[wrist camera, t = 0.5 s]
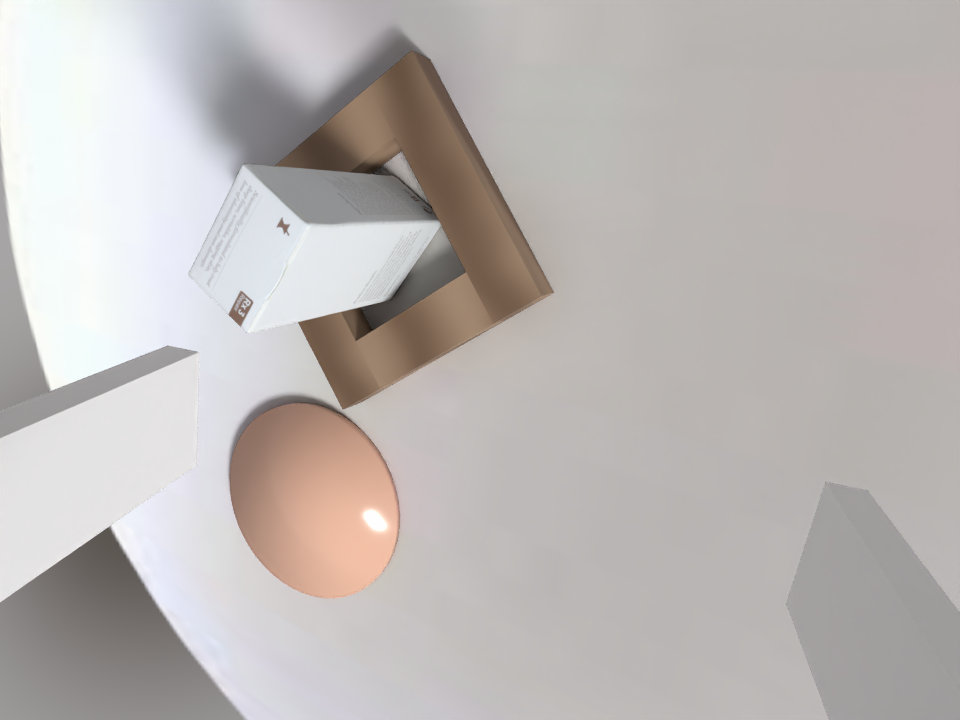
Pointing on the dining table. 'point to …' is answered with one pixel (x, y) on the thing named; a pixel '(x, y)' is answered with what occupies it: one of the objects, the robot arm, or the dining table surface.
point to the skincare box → (310, 244)
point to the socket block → (459, 208)
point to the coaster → (314, 500)
